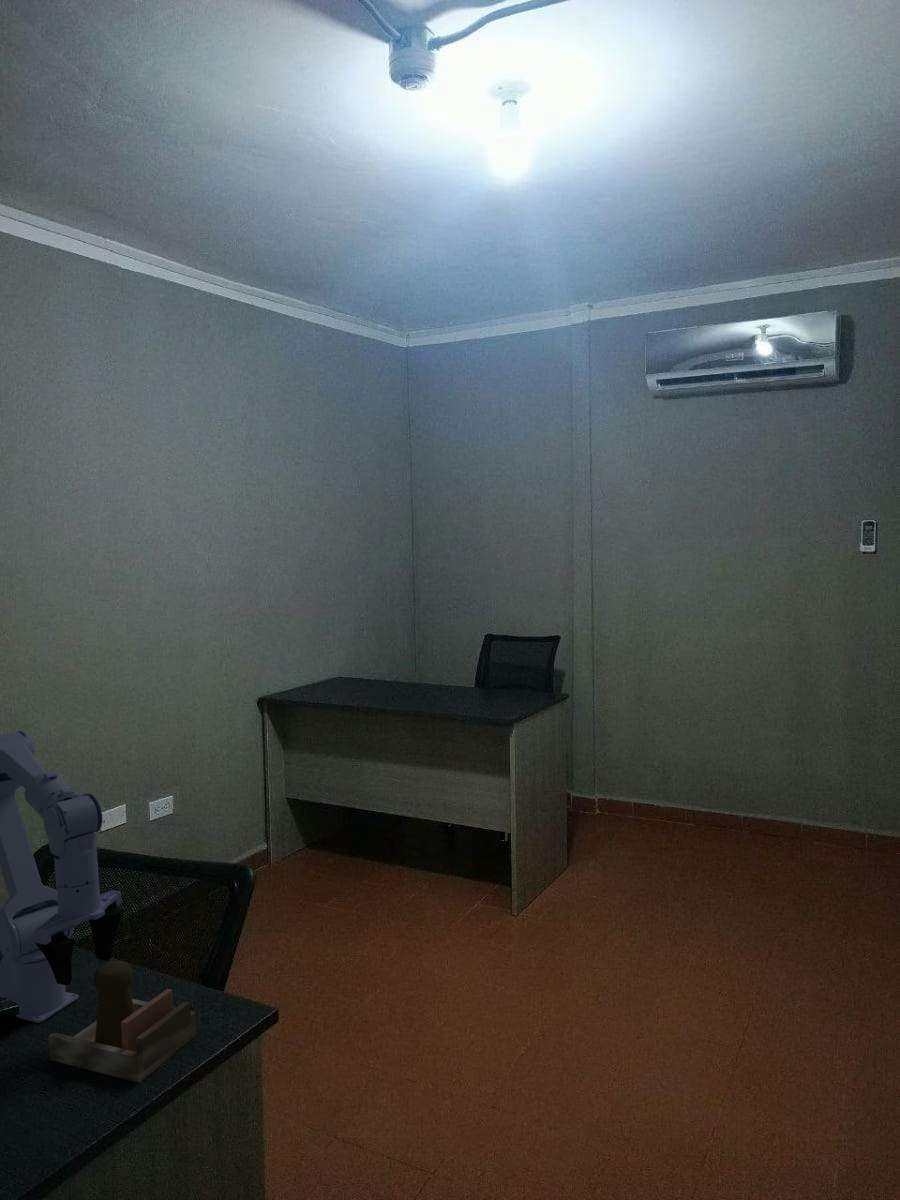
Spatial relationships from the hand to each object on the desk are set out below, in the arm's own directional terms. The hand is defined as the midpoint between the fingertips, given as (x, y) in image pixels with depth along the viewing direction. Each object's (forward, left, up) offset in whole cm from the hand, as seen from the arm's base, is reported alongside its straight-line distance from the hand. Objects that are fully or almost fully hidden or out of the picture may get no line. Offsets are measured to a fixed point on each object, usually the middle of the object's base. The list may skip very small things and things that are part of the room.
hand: (84, 970), depth 128 cm
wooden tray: (+7, 0, -10) cm, 12 cm away
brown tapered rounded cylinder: (+5, 0, -10) cm, 11 cm away
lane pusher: (+11, 0, -9) cm, 15 cm away
